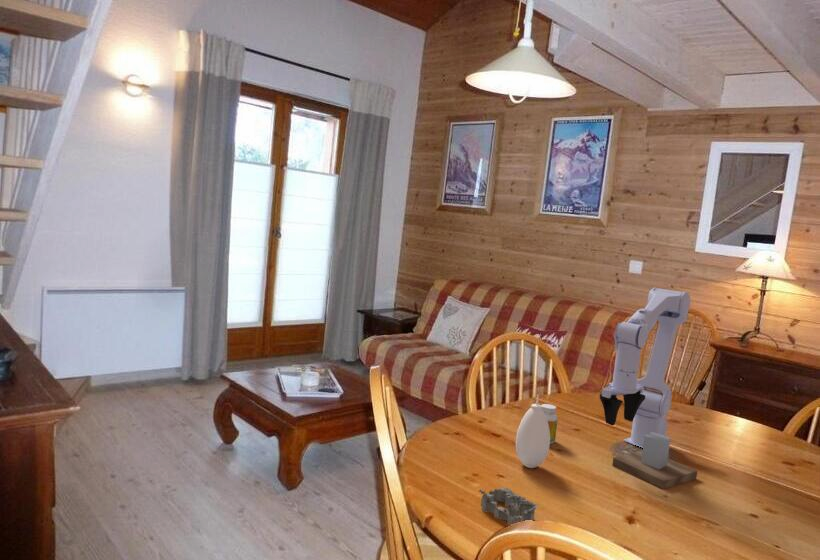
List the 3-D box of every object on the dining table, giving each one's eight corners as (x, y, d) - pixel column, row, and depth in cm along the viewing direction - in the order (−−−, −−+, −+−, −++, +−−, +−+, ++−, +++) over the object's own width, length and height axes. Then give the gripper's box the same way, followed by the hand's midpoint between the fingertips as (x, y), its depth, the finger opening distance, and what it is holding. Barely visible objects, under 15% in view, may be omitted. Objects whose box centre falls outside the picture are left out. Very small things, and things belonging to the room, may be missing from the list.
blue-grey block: (648, 458, 149) (652, 432, 148) (666, 465, 146) (670, 437, 145) (640, 462, 146) (644, 435, 145) (659, 469, 143) (663, 441, 142)
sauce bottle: (507, 460, 145) (515, 389, 143) (535, 458, 147) (543, 389, 146) (524, 474, 137) (532, 400, 136) (552, 472, 140) (561, 399, 138)
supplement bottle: (555, 445, 158) (559, 410, 157) (534, 442, 159) (539, 407, 158) (554, 438, 163) (558, 404, 162) (534, 435, 164) (538, 401, 163)
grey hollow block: (474, 507, 120) (476, 488, 120) (500, 499, 125) (502, 481, 124) (513, 532, 112) (516, 511, 111) (539, 522, 116) (541, 502, 116)
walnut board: (645, 456, 156) (646, 449, 155) (696, 478, 144) (697, 470, 144) (612, 465, 148) (613, 457, 148) (662, 489, 136) (664, 481, 136)
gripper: (629, 364, 155) (623, 413, 157) (594, 367, 147) (588, 420, 148) (653, 371, 150) (646, 422, 151) (618, 375, 141) (611, 429, 143)
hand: (619, 422), depth 149 cm, fingers open, 7 cm apart
